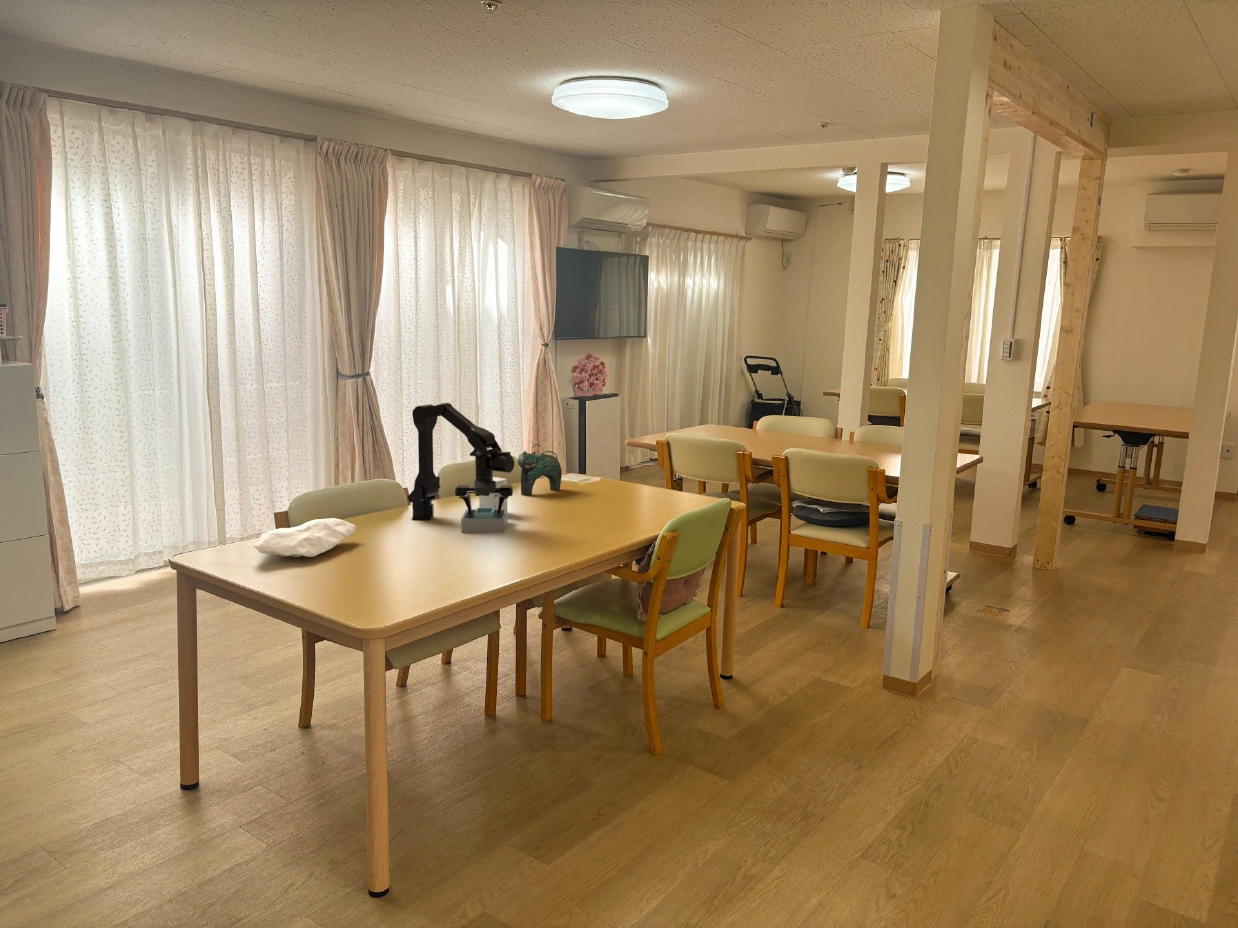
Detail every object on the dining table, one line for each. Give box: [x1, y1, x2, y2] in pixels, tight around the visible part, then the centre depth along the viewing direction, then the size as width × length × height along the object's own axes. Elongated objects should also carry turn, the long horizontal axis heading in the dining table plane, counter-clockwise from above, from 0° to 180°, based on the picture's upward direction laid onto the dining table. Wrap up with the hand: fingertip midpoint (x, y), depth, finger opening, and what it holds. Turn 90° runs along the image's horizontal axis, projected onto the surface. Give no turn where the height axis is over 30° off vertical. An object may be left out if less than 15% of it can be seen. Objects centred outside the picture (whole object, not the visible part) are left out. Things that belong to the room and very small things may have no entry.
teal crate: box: [474, 507, 495, 519], centre depth 296 cm, size 6×8×5 cm
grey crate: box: [460, 508, 509, 533], centre depth 296 cm, size 14×14×4 cm
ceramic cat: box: [517, 443, 563, 497], centre depth 350 cm, size 20×6×20 cm, turn 132°
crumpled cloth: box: [253, 517, 356, 558], centre depth 264 cm, size 24×35×9 cm
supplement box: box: [478, 476, 508, 510], centre depth 315 cm, size 7×7×13 cm
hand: (484, 515), depth 295 cm, fingers open, 9 cm apart
